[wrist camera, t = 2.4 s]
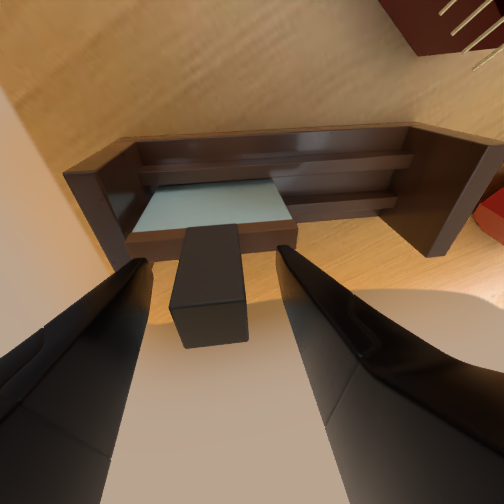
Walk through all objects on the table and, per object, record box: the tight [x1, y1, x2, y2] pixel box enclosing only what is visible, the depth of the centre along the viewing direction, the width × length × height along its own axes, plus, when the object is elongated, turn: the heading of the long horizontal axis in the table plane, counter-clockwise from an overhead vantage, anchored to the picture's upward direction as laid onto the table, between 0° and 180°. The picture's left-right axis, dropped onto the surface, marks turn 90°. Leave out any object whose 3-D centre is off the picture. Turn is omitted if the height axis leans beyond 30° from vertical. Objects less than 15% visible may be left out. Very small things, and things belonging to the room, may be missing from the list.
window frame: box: [63, 122, 504, 272], centre depth 13 cm, size 18×6×6 cm, turn 92°
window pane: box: [124, 179, 298, 349], centre depth 10 cm, size 7×2×10 cm, turn 92°
